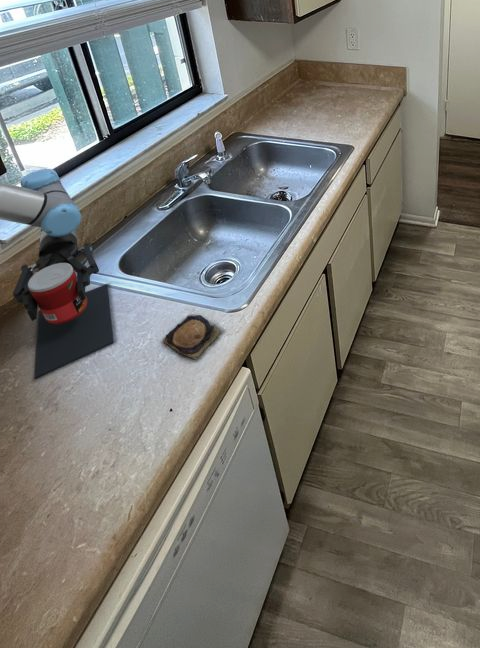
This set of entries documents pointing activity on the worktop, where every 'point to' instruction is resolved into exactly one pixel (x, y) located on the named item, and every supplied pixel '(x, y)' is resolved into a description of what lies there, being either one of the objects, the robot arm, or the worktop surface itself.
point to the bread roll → (192, 336)
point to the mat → (75, 334)
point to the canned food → (57, 293)
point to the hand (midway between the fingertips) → (57, 305)
